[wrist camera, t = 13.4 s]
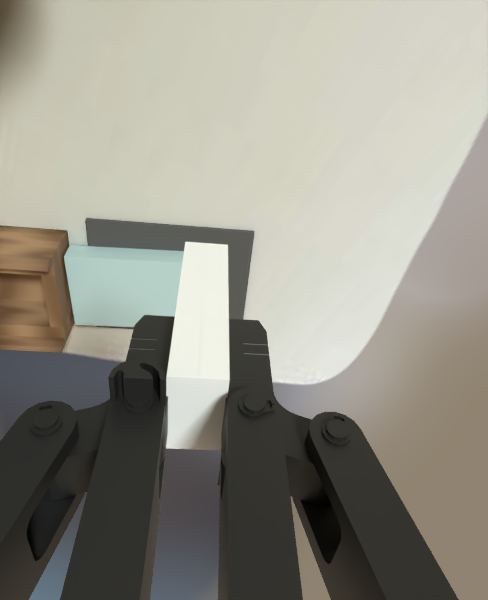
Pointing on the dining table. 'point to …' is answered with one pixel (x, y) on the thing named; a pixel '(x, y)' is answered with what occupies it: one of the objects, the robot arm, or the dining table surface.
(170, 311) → the lid
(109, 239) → the mat
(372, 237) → the dining table surface
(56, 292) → the box
